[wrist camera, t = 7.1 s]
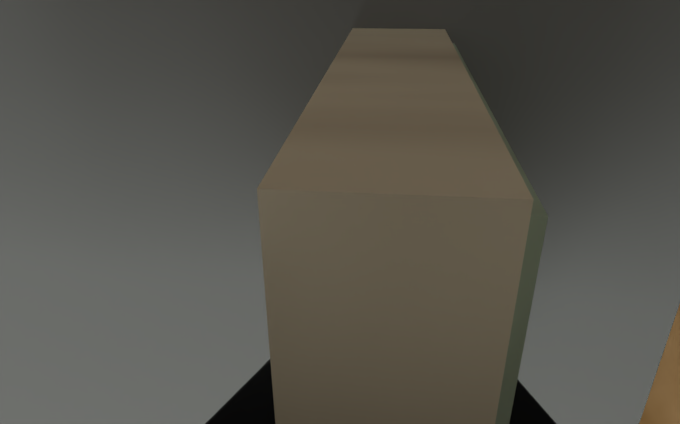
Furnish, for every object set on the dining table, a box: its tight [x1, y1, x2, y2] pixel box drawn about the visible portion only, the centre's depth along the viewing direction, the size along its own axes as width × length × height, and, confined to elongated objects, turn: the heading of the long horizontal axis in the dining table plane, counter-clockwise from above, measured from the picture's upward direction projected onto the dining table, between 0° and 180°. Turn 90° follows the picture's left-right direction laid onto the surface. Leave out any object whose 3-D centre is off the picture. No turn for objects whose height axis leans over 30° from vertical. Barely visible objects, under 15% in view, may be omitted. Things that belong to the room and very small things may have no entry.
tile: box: [257, 28, 548, 424], centre depth 8 cm, size 8×2×7 cm, turn 0°
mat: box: [0, 0, 680, 424], centre depth 12 cm, size 18×16×1 cm
